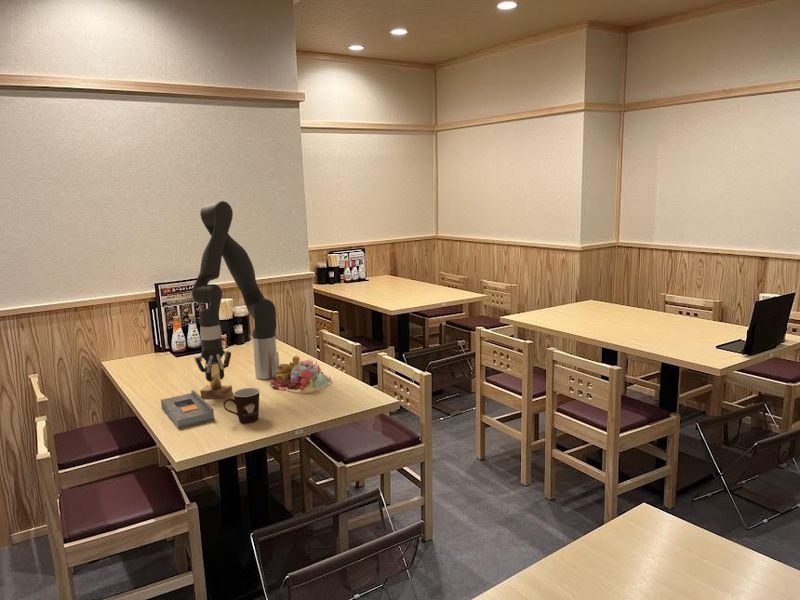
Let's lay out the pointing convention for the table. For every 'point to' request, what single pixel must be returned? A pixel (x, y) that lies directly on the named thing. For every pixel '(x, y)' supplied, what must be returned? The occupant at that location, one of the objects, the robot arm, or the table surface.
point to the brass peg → (215, 376)
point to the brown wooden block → (216, 392)
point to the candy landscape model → (300, 377)
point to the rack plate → (187, 410)
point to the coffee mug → (246, 405)
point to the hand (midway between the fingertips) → (215, 379)
